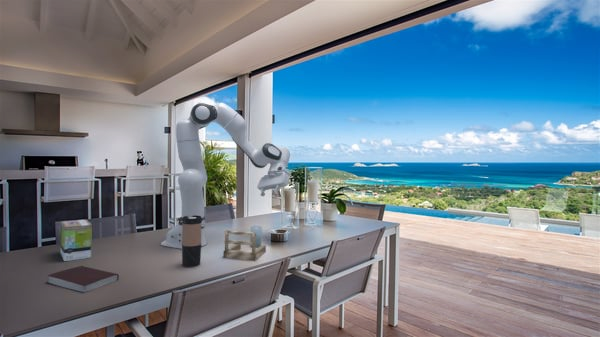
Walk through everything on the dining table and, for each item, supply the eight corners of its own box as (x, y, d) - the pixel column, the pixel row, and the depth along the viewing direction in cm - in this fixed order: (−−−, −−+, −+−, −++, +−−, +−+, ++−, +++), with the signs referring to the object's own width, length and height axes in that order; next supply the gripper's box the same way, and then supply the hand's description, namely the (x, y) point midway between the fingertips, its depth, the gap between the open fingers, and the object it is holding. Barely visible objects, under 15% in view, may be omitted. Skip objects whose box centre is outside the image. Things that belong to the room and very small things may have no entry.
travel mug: (194, 268, 132) (195, 219, 131) (177, 266, 133) (178, 217, 133) (204, 262, 139) (205, 215, 139) (187, 260, 141) (188, 214, 140)
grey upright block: (248, 247, 164) (249, 227, 164) (252, 244, 169) (252, 225, 169) (258, 248, 163) (259, 228, 162) (262, 245, 168) (263, 226, 168)
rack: (223, 257, 147) (223, 231, 146) (236, 248, 161) (237, 224, 161) (254, 260, 143) (255, 233, 143) (265, 251, 158) (266, 226, 158)
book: (82, 272, 125) (82, 264, 125) (119, 281, 117) (119, 272, 117) (46, 284, 113) (46, 275, 113) (84, 294, 106) (84, 284, 106)
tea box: (92, 257, 141) (92, 224, 141) (63, 262, 135) (63, 226, 134) (86, 249, 153) (86, 218, 152) (59, 253, 146) (60, 220, 146)
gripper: (259, 172, 182) (251, 194, 175) (286, 166, 169) (278, 189, 162) (266, 179, 186) (258, 199, 179) (293, 173, 173) (286, 195, 166)
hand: (268, 194), depth 170 cm, fingers open, 8 cm apart
